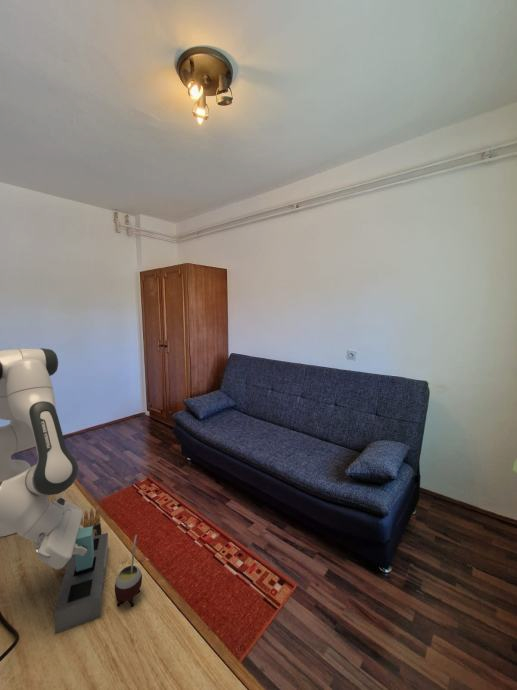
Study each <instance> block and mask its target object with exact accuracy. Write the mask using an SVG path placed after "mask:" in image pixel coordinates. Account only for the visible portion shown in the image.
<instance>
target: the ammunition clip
mask: <svg viewBox="0 0 517 690" xmlns="http://www.w3.org/2000/svg"><path fill="white" fill-rule="evenodd" d="M89 511H90V512H89V513H88V511H87V510H86V509H85V511H84V513H83V515H84V516H83V517H84V518H83V517H82V519H81V523H80V525H82V526H83V527H84V528H86V527H91V526H93V536H97V535H101V534H102V526H101V525H102V524H101V515H100V507H99V505H96V507H95V511H94V509H93V507H91V508H90V510H89Z"/></svg>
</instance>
